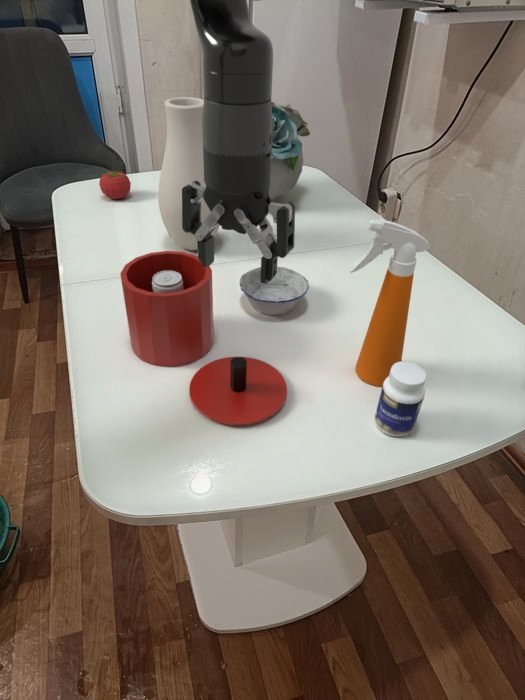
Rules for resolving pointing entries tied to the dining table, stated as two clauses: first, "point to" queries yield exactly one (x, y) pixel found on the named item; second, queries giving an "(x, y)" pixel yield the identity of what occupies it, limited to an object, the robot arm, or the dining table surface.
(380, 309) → the spray bottle
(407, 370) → the pill bottle
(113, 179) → the tomato
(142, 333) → the pot
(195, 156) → the vase
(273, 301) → the bowl
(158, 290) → the beverage can
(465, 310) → the dining table surface
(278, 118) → the flower arrangement
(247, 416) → the lid
